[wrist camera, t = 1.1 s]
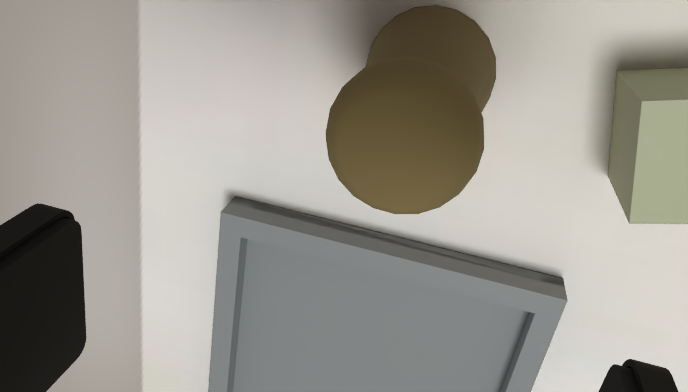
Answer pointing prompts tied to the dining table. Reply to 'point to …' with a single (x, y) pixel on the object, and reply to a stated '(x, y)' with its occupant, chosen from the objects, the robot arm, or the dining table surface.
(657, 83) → the olive block
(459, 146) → the brown pawn
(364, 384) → the slate tray
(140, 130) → the dining table surface
